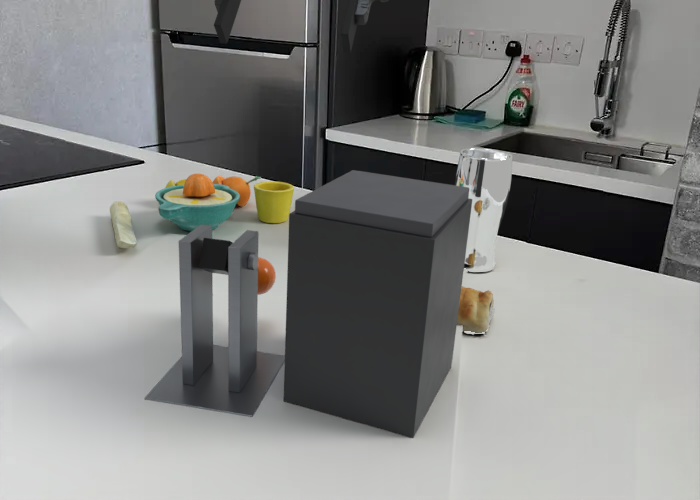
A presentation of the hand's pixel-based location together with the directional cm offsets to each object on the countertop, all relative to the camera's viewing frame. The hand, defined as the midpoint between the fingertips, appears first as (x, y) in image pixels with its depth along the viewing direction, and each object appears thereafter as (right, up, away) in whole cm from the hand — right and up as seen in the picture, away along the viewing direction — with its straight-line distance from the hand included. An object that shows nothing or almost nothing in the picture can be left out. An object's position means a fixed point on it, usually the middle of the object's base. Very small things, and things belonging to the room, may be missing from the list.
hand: (282, 39), depth 71 cm
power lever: (-3, -25, -11) cm, 28 cm away
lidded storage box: (+9, -35, -12) cm, 38 cm away
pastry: (+18, -30, +3) cm, 35 cm away
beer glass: (+23, -24, +19) cm, 39 cm away
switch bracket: (-4, -34, -13) cm, 36 cm away
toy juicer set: (-17, -18, +29) cm, 38 cm away
